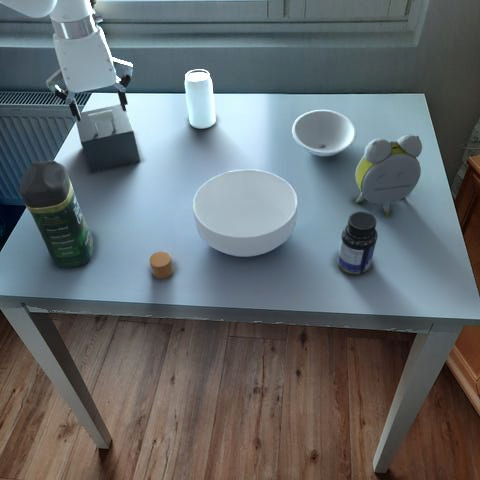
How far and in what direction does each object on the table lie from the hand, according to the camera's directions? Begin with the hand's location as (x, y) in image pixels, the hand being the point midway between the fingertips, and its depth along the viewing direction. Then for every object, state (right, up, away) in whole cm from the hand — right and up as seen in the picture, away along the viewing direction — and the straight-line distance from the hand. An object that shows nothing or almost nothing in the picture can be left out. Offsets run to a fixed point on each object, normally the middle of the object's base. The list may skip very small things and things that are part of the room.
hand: (101, 113), depth 100 cm
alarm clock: (+59, -21, -2) cm, 63 cm away
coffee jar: (-3, -31, -7) cm, 32 cm away
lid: (-1, 0, +6) cm, 6 cm away
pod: (+15, -35, -11) cm, 40 cm away
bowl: (+31, -27, -6) cm, 42 cm away
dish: (+49, -4, +10) cm, 50 cm away
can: (+20, +6, +20) cm, 29 cm away
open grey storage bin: (-1, -4, +13) cm, 14 cm away
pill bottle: (+51, -34, -12) cm, 62 cm away
